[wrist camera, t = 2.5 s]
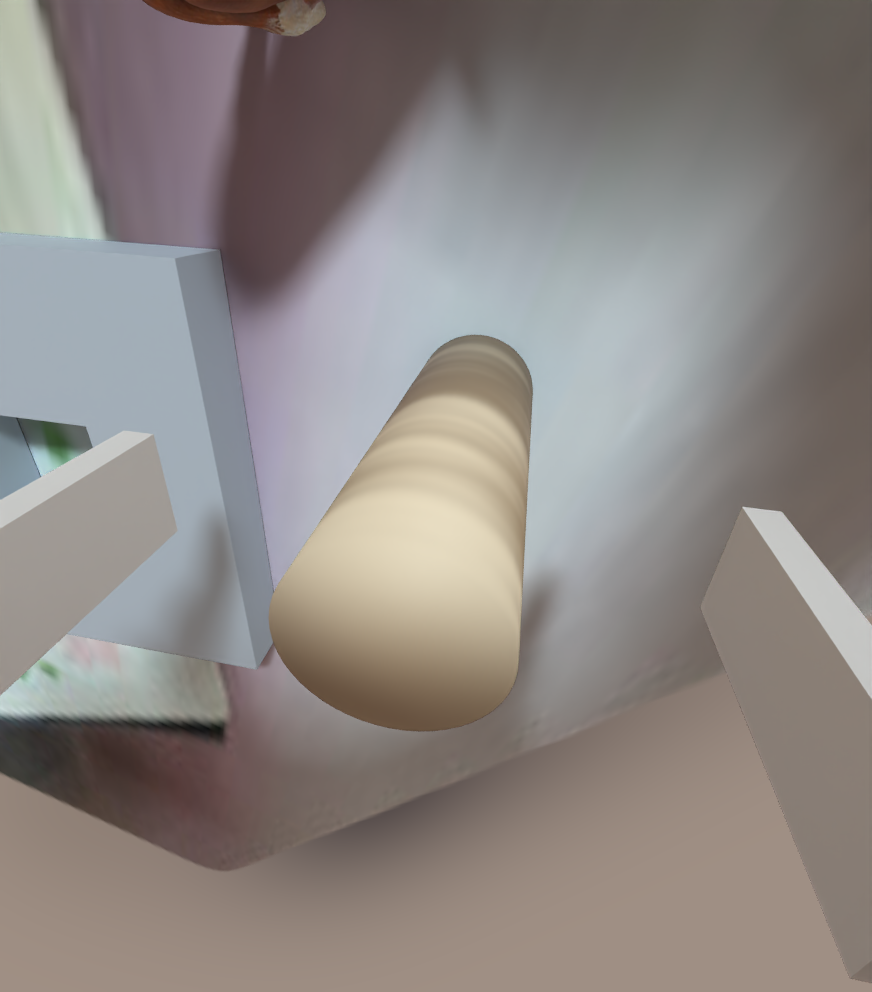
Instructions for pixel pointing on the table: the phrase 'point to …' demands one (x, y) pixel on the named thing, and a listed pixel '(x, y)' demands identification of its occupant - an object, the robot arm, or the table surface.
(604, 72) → the table surface
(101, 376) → the socket board
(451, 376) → the peg
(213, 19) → the bull figurine
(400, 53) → the table surface
